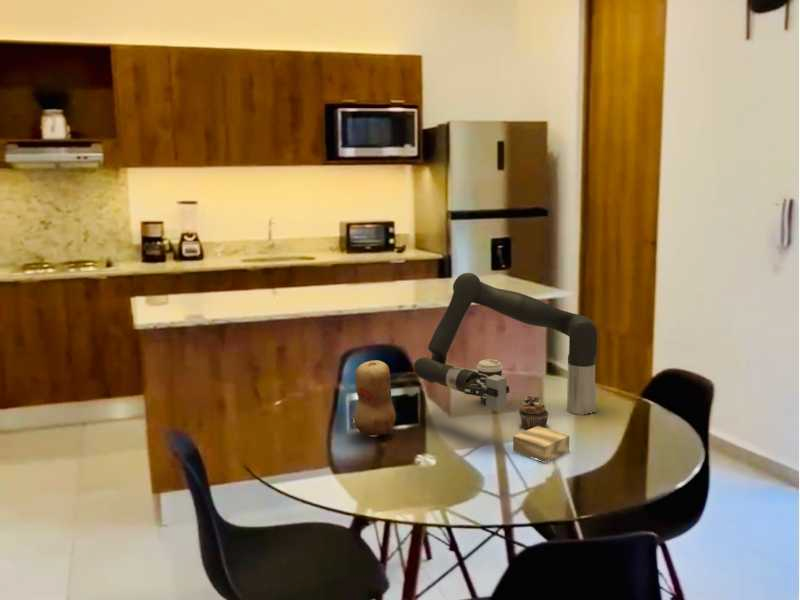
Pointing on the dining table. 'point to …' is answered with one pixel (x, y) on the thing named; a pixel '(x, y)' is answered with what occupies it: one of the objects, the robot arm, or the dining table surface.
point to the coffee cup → (489, 371)
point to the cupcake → (533, 413)
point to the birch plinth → (541, 443)
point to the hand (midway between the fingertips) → (503, 391)
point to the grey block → (501, 386)
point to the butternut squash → (374, 399)
